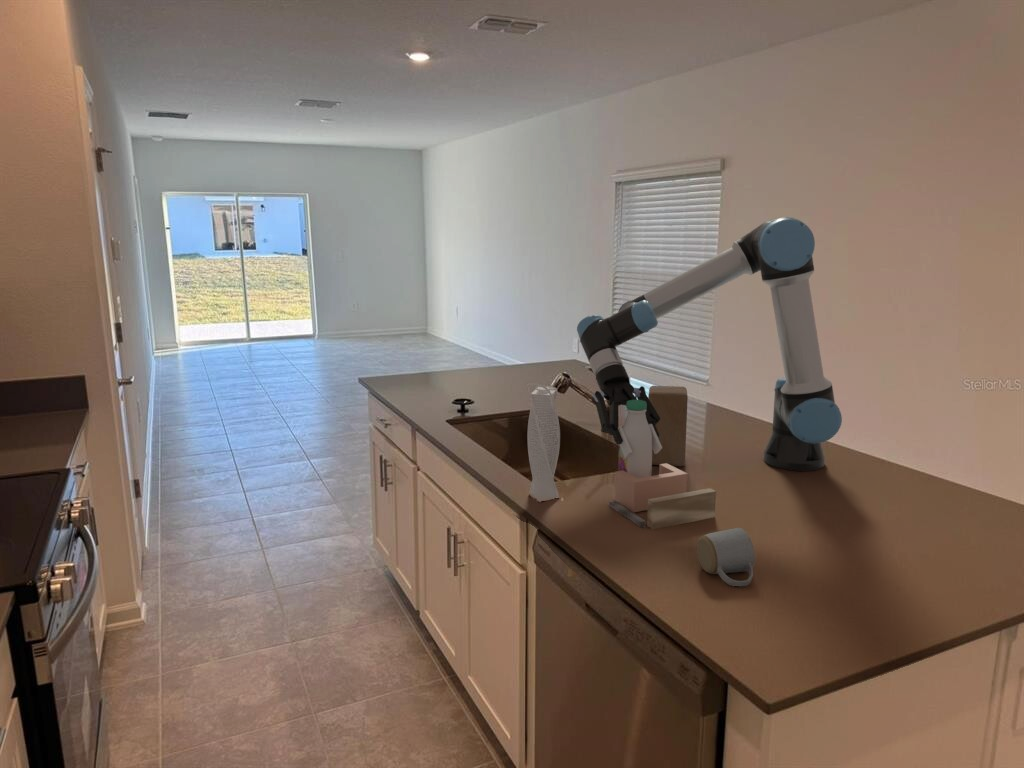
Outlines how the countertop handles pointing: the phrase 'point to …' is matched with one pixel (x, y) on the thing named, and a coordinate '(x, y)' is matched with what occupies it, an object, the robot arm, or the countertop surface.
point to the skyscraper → (543, 441)
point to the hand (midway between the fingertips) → (643, 453)
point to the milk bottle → (637, 441)
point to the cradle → (648, 487)
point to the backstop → (674, 509)
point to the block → (670, 423)
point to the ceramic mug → (727, 554)
